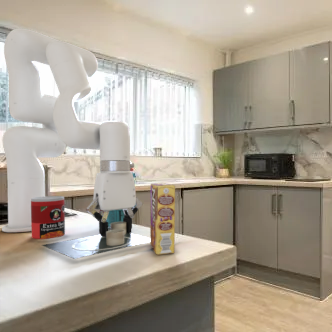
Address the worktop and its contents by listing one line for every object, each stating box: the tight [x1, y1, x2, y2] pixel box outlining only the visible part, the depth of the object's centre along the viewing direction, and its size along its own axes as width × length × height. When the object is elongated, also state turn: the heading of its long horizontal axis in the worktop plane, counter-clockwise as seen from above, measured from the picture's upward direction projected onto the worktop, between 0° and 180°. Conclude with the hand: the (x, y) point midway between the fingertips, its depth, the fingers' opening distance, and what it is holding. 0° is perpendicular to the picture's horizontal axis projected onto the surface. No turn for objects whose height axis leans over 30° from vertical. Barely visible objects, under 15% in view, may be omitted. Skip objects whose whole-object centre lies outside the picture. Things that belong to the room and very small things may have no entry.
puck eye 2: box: [106, 229, 124, 246], centre depth 78 cm, size 4×4×3 cm
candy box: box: [149, 182, 176, 255], centre depth 75 cm, size 9×4×15 cm, turn 26°
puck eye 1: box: [110, 222, 126, 234], centre depth 89 cm, size 4×4×3 cm
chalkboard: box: [41, 232, 150, 260], centre depth 80 cm, size 18×20×1 cm
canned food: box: [31, 195, 66, 240], centre depth 88 cm, size 8×8×11 cm
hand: (116, 233), depth 88 cm, fingers open, 5 cm apart
